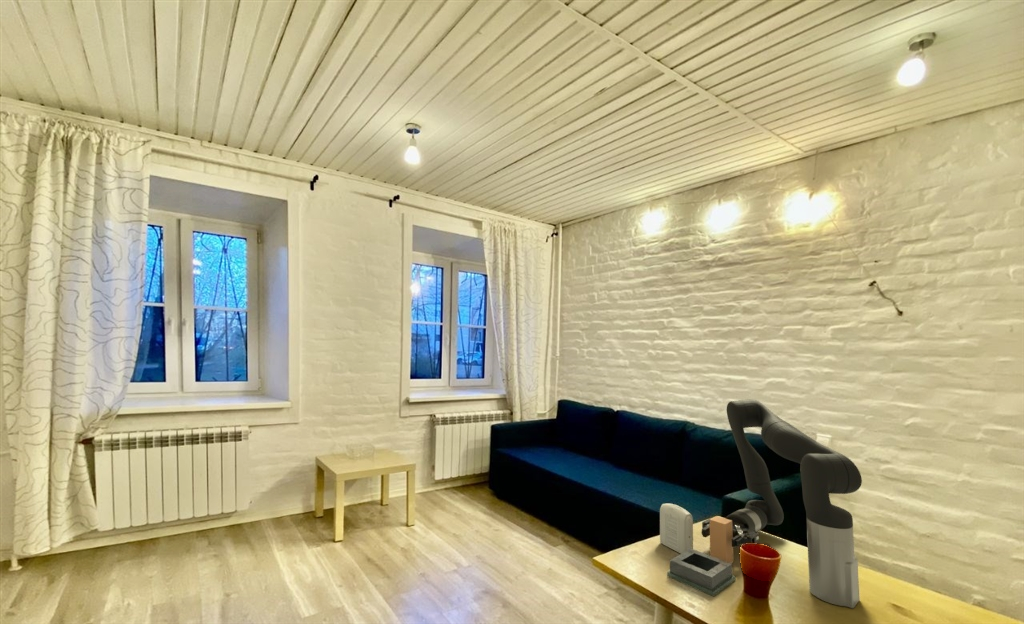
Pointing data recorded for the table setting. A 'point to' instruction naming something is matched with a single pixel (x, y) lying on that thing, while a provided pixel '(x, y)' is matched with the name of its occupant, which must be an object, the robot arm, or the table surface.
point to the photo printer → (676, 528)
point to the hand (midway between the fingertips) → (718, 538)
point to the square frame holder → (701, 571)
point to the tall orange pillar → (721, 538)
